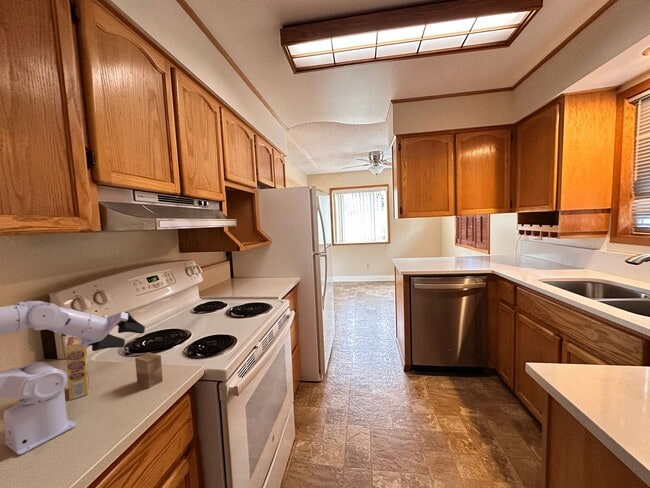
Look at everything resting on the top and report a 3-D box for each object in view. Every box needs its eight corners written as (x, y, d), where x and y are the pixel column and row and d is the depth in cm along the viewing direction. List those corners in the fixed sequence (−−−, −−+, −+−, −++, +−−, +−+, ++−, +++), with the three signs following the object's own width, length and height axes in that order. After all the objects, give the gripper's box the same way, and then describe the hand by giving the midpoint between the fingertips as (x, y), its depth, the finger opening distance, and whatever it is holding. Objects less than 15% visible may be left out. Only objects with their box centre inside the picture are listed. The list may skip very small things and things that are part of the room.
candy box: (89, 394, 79) (84, 341, 78) (69, 400, 76) (63, 346, 75) (90, 381, 86) (86, 333, 85) (71, 387, 83) (66, 337, 82)
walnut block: (149, 388, 81) (147, 361, 80) (137, 383, 83) (135, 357, 83) (162, 381, 84) (160, 355, 84) (150, 377, 87) (148, 352, 86)
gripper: (105, 296, 71) (152, 311, 82) (64, 326, 73) (116, 337, 84) (101, 320, 67) (152, 332, 78) (58, 350, 69) (114, 359, 79)
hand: (133, 336), depth 80 cm, fingers open, 7 cm apart
